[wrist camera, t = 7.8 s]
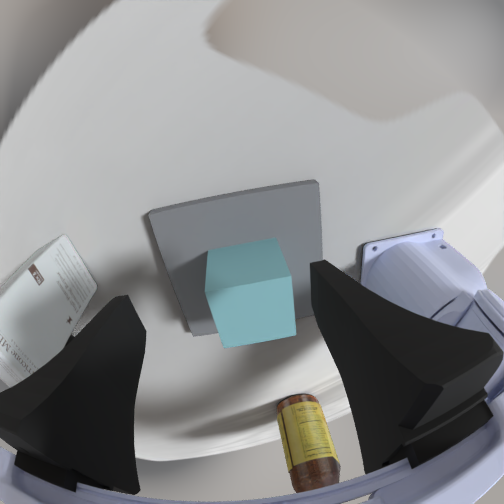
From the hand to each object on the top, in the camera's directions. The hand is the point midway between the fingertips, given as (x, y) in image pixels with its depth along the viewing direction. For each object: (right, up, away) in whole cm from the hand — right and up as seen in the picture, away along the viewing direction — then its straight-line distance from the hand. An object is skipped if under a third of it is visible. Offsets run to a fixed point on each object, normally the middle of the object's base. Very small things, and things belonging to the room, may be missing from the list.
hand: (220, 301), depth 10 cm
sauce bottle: (+8, -19, +24) cm, 31 cm away
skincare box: (-15, +1, +10) cm, 18 cm away
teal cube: (+1, 0, +11) cm, 11 cm away
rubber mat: (+1, +1, +12) cm, 12 cm away
